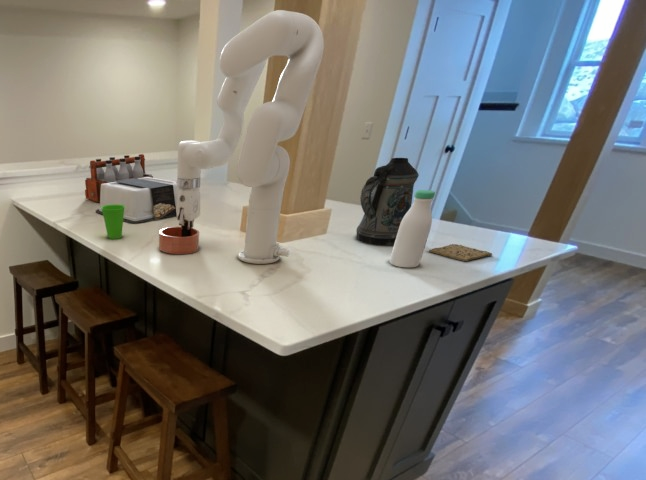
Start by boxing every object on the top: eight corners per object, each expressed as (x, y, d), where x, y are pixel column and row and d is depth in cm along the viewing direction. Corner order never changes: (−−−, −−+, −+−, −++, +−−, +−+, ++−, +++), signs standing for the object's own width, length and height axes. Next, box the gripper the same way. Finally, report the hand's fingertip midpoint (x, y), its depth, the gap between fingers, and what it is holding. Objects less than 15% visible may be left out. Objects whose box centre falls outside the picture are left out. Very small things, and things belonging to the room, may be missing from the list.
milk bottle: (417, 269, 126) (441, 194, 115) (387, 266, 130) (408, 192, 119) (419, 262, 131) (442, 189, 121) (390, 258, 135) (410, 187, 124)
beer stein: (414, 237, 152) (439, 156, 139) (396, 251, 141) (421, 164, 127) (364, 231, 162) (382, 154, 149) (343, 243, 151) (361, 161, 137)
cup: (123, 240, 165) (122, 209, 159) (100, 240, 166) (97, 209, 160) (128, 234, 172) (127, 204, 166) (106, 234, 174) (104, 204, 168)
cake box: (194, 212, 199) (195, 182, 193) (134, 224, 184) (133, 192, 178) (148, 201, 224) (148, 174, 217) (92, 212, 209) (89, 183, 202)
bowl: (204, 246, 155) (205, 229, 152) (187, 256, 145) (188, 239, 142) (170, 240, 161) (171, 224, 158) (151, 250, 151) (152, 233, 148)
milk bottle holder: (81, 200, 235) (77, 159, 225) (134, 190, 252) (133, 152, 242) (103, 205, 221) (100, 162, 210) (157, 195, 238) (157, 155, 227)
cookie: (427, 251, 139) (428, 248, 138) (454, 245, 143) (455, 242, 142) (465, 261, 130) (466, 258, 129) (492, 255, 133) (494, 252, 133)
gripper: (189, 188, 139) (187, 246, 149) (208, 180, 150) (205, 235, 160) (168, 186, 143) (167, 244, 153) (187, 179, 154) (186, 233, 164)
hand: (186, 239), depth 157 cm, fingers closed on bowl, 1 cm apart
